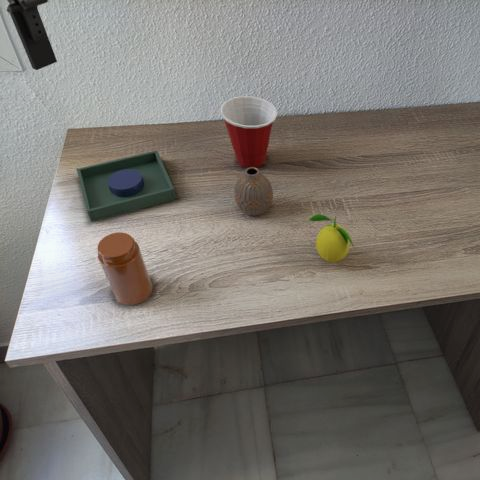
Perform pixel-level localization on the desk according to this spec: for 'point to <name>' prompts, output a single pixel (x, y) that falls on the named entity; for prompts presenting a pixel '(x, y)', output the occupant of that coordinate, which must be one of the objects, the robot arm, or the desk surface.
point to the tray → (108, 205)
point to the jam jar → (124, 268)
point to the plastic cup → (249, 128)
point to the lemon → (332, 240)
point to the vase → (253, 192)
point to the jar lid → (126, 183)
